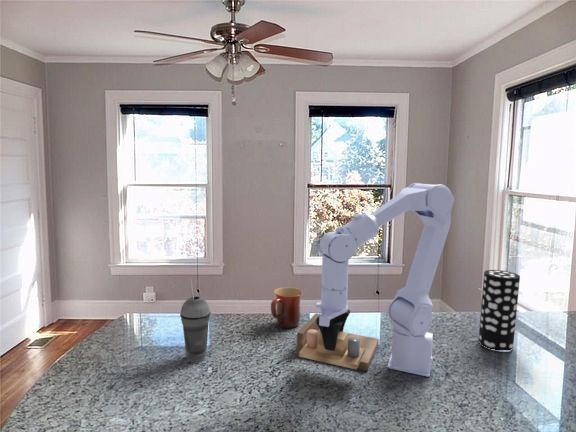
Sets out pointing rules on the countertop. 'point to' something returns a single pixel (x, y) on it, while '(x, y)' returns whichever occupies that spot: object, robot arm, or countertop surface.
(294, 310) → the mug
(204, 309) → the beverage cup
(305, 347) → the wooden stand
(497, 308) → the spotted tube
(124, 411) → the countertop surface
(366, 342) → the light wood stepped block
